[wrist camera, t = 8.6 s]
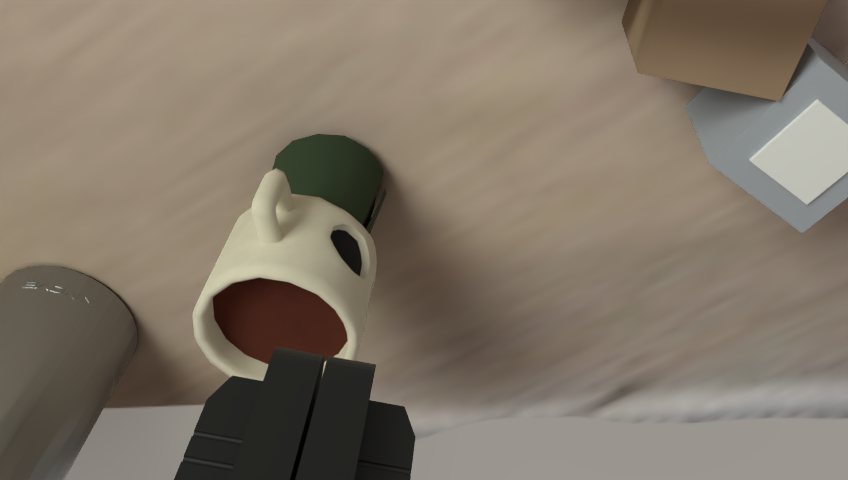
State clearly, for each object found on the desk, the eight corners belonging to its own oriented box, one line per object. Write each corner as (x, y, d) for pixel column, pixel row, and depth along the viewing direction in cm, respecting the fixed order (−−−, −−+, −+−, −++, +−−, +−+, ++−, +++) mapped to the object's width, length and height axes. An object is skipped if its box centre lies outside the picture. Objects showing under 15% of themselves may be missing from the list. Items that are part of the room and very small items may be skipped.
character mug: (406, 255, 47) (377, 426, 36) (287, 259, 48) (225, 427, 37) (381, 81, 40) (337, 226, 30) (245, 90, 41) (155, 233, 31)
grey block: (770, 171, 42) (805, 237, 37) (684, 105, 40) (709, 165, 35) (869, 86, 39) (922, 145, 34) (781, 11, 37) (823, 62, 32)
